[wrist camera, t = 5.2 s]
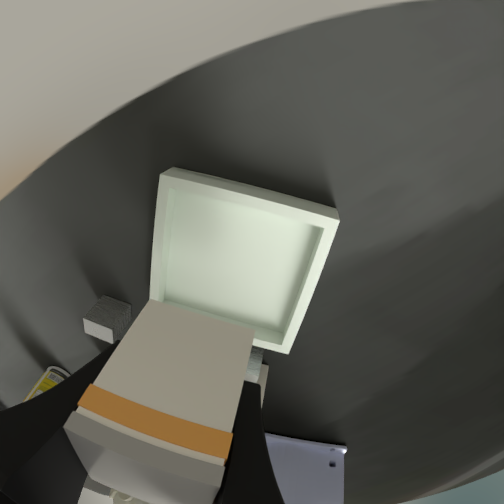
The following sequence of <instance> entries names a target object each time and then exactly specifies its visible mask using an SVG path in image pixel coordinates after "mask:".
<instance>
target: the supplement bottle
mask: <svg viewBox="0 0 504 504" xmlns="http://www.w3.org/2000/svg"><path fill="white" fill-rule="evenodd" d="M69 376H71V375H70V374H69V373H67V372H66V371H65V370H63V369H61V368H59V367H56V366H50V367H48V368H47V370H46V371H45V372H44V373H43V375H42V376H41V377H40V379H39V380H38V382H37V383H36V384H35V386H34V387H33V388H32V390H31V391H30V392H29V394H28V395H27V396H26V398H25V399H24V400H23V402H25V401H27V400H29V399H31V398H33V397H35V396H37V395H39V394H41V393H43V392H45V391H47V390H48V389H50V388H52V387H54V386H55V385H57V384H58V383H60V382H61V381H63V380H64V379H66V378H68V377H69ZM23 402H22V403H23Z"/></svg>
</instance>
